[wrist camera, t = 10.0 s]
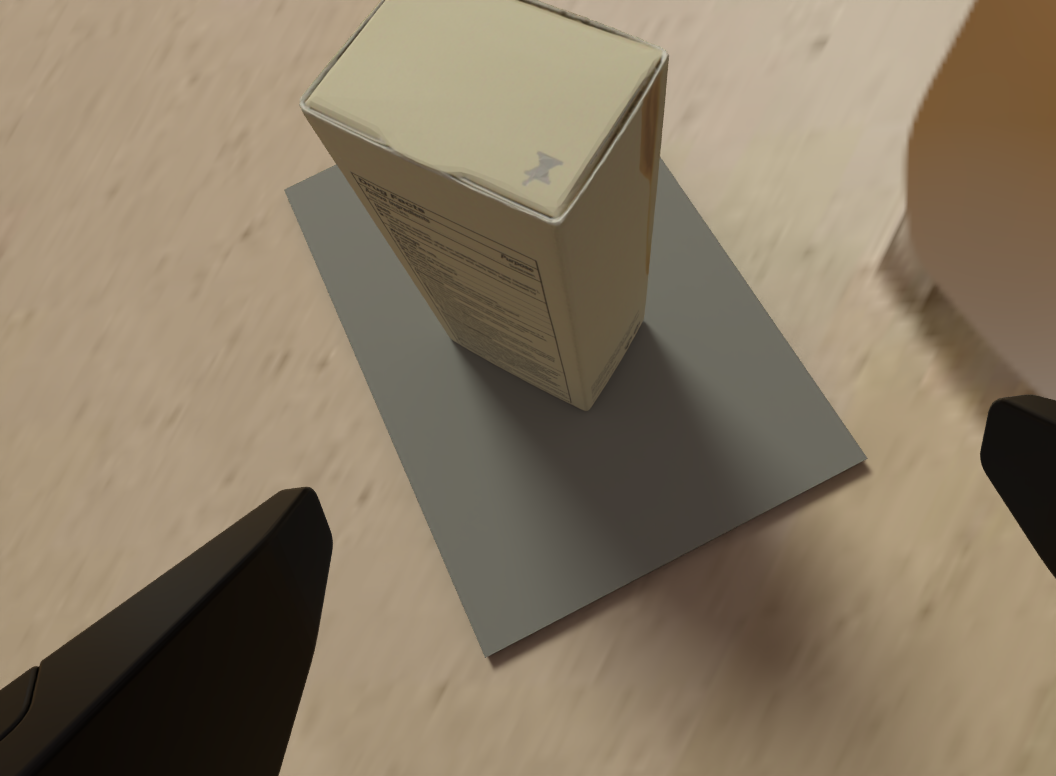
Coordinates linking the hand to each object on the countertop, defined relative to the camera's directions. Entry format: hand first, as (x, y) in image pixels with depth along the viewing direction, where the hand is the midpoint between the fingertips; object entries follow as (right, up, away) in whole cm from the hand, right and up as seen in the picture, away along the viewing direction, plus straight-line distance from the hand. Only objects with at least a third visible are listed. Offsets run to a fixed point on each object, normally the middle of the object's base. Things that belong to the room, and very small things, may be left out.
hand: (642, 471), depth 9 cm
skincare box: (-1, +3, +15) cm, 16 cm away
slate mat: (-1, +4, +16) cm, 16 cm away
